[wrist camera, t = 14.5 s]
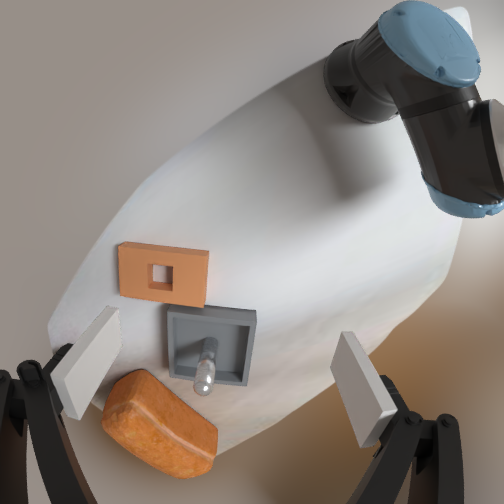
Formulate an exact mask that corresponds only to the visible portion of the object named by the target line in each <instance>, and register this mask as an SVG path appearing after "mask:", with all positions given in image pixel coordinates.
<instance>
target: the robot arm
mask: <svg viewBox="0 0 504 504" xmlns="http://www.w3.org/2000/svg"><path fill="white" fill-rule="evenodd" d="M479 62H480V58H479V54H478V51H477V49H476V47H475V45H474V43H473V41H472V40H471V38H470V36H469V35H468V34H467V32H466V31H465V30H464V29H463V27H462V26H461V25H460V24H459V23H458V22H457V21H456V20H455V19H453V18H452V17H451V16H450V15H448V14H447V13H445V12H443V11H441V10H440V9H439V8H437V7H435V6H433V5H431V4H428V3H425V2H421V1H414V0H409V1H403V2H400V3H399V4H397V5H395V6H394V7H393V8H391V9H390V10H388V11H386V12H384V13H383V14H382V15H381V16H380V17H379V19H378V20H377V21H376V22H375V23H374V24H373V25H372V26H371V27H370V29H368V31H367V32H366V33H365V34H364V35H363V36H362V37H361V38H360V39H355V40H351V41H347V42H345V43H342V44H341V45H339V46H338V47H337V48H335V49H334V50H333V52H332V53H331V54H330V55H329V57H328V58H327V60H326V63H325V67H324V80H325V85H326V88H327V90H328V92H329V94H330V96H331V98H332V99H333V101H334V102H335V103H336V104H337V106H338V107H339V108H340V109H342V110H343V111H344V112H345V113H346V114H348V115H349V116H351V117H353V118H355V119H357V120H360V121H363V122H368V123H379V122H384V121H387V120H390V119H392V118H394V117H396V116H397V115H399V114H400V116H401V119H402V121H403V123H404V126H405V128H406V130H407V133H408V135H409V138H410V140H411V143H412V145H413V148H414V151H415V153H416V156H417V159H418V162H419V164H420V167H421V170H422V171H421V175H422V178H423V180H424V182H425V183H426V185H427V188H428V191H429V194H430V196H431V199H432V201H433V202H434V203H435V204H436V206H437V207H438V208H439V209H441V210H442V211H444V212H446V213H448V214H450V215H453V216H457V217H462V218H482V217H484V216H485V215H494V214H497V213H499V212H500V211H501V210H503V209H504V105H502V104H501V103H499V102H498V101H497V100H496V99H490V100H485V101H482V100H481V98H480V95H479V93H478V91H477V88H476V86H475V82H476V80H477V79H478V78H479V75H480V72H481V67H480V65H479V64H478V63H479ZM122 346H123V344H122V337H121V328H120V319H119V309H118V308H115V307H110V306H107V307H106V308H105V309H104V310H103V311H102V312H101V313H100V315H99V316H98V317H97V318H96V319H95V320H94V322H93V323H92V324H91V325H90V326H89V327H88V328H87V330H86V331H85V332H84V333H83V334H82V336H81V337H80V338H79V339H78V340H77V342H76V343H75V344H74V345H73V344H70V343H68V344H66V345H64V346H62V347H61V348H60V349H59V350H58V351H57V352H56V354H55V355H54V356H53V357H52V359H50V361H49V362H48V363H47V364H46V366H45V367H44V368H43V369H42V368H41V365H40V363H38V362H37V361H35V360H26V361H23V362H22V363H20V364H19V365H18V367H17V373H18V376H19V378H20V380H17V379H12V378H11V376H10V374H9V372H7V371H6V370H0V504H28V493H27V473H26V450H27V428H28V427H27V426H28V425H29V430H30V435H31V439H32V444H33V448H34V452H35V455H36V459H37V462H38V466H39V469H40V473H41V476H42V479H43V482H44V485H45V487H46V491H47V493H48V496H49V498H50V501H51V504H97V501H96V499H95V498H94V496H93V494H92V492H91V490H90V488H89V485H88V483H87V481H86V479H85V477H84V475H83V472H82V470H81V468H80V465H79V463H78V461H77V458H76V456H75V453H74V451H73V448H72V445H71V443H70V440H69V437H68V434H67V431H66V428H65V425H64V422H63V419H62V416H61V414H60V413H61V411H62V410H63V408H64V410H65V412H66V415H67V416H69V417H72V418H74V419H77V420H80V419H81V417H82V416H83V414H84V412H85V410H86V408H87V406H88V404H89V403H90V401H91V399H92V398H93V396H94V394H95V392H96V390H97V389H98V387H99V385H100V383H101V382H102V380H103V378H104V377H105V375H106V373H107V371H108V370H109V368H110V366H111V365H112V363H113V361H114V360H115V358H116V356H117V355H118V353H119V351H120V350H121V348H122ZM330 368H331V371H332V373H333V376H334V379H335V381H336V384H337V386H338V389H339V392H340V394H341V397H342V400H343V402H344V405H345V408H346V410H347V413H348V416H349V419H350V421H351V424H352V427H353V430H354V432H355V435H356V438H357V440H358V443H359V446H360V448H365V447H371V446H374V445H375V444H376V442H377V441H378V439H379V440H380V442H381V446H380V447H379V448H378V450H377V451H376V453H375V454H374V455H373V457H374V458H373V460H372V462H371V464H370V466H369V467H368V469H367V471H366V473H365V474H364V476H363V478H362V480H361V481H360V483H359V485H358V486H357V488H356V489H355V491H354V493H353V494H352V496H351V497H350V499H349V500H348V502H347V503H346V504H394V502H395V500H396V497H397V495H398V493H399V491H400V489H401V486H402V484H403V482H404V479H405V477H406V474H407V472H408V470H409V467H410V464H411V462H412V472H411V481H410V490H409V497H408V504H464V479H463V460H462V449H461V440H460V432H459V425H458V422H457V420H456V418H455V417H453V416H452V415H450V414H441V415H439V417H438V418H437V419H436V421H433V420H423V418H422V417H421V415H420V414H418V413H416V412H413V411H409V409H408V407H407V406H406V404H405V402H404V400H403V399H402V397H401V395H400V394H399V392H398V390H397V389H396V387H395V385H394V384H393V382H392V380H390V379H389V378H388V377H387V376H386V375H380V376H379V375H378V373H377V372H376V370H375V368H374V366H373V365H372V363H371V361H370V359H369V358H368V356H367V354H366V353H365V351H364V349H363V347H362V346H361V344H360V342H359V341H358V339H357V337H356V336H355V334H354V332H341V335H340V339H339V342H338V345H337V348H336V351H335V354H334V357H333V360H332V363H331V366H330Z"/></svg>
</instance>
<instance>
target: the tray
mask: <svg viewBox="0 0 504 504" xmlns="http://www.w3.org/2000/svg"><path fill="white" fill-rule="evenodd" d="M256 324H257V317H256V310H247V309H237V308H228V307H219V306H210V305H204V308H200V307H192V306H185V305H177V304H171V305H170V307H169V309H168V311H167V329H168V357H169V375H170V377H172V378H178V379H185V380H192V381H194V380H195V375H196V371H197V366H198V362H199V357H200V353H201V348H202V344H203V340H204V339H205V338H207V337H214V338H216V339H217V340H218V342H219V347H218V354H217V362H216V369H215V376H214V383H216V384H225V385H236V386H247V382H248V376H249V369H250V363H251V357H252V350H253V344H254V337H255V330H256Z"/></svg>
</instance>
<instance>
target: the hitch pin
mask: <svg viewBox="0 0 504 504" xmlns="http://www.w3.org/2000/svg"><path fill="white" fill-rule="evenodd" d="M218 347H219V342H218V340H217V339H216V338H214V337H207V338H205V339H204V340H203V344H202V348H201V353H200V357H199V362H198V366H197V371H196V375H195V380H194V385H193V388H194V391H195V392H196V393H197V394H198V395H200V396H207V395H209V394H210V393H211V392H212V390H213V384H214V376H215V369H216V362H217V354H218Z"/></svg>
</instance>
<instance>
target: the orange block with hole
mask: <svg viewBox="0 0 504 504" xmlns="http://www.w3.org/2000/svg"><path fill="white" fill-rule="evenodd" d="M208 259H209V251H205V250H196V249H187V248H178V247H169V246H160V245H151V244H142V243H133V242H124V243H122V244H121V245H119V246H118V260H119V283H120V296H124V297H130V298H136V299H143V300H149V301H156V302H163V303H170V304H177V305H185V306H192V307H200V308H204V304H205V301H206V287H207V272H208ZM153 264H156V265H164V266H173V284H169V283H162V282H154V281H153Z"/></svg>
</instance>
